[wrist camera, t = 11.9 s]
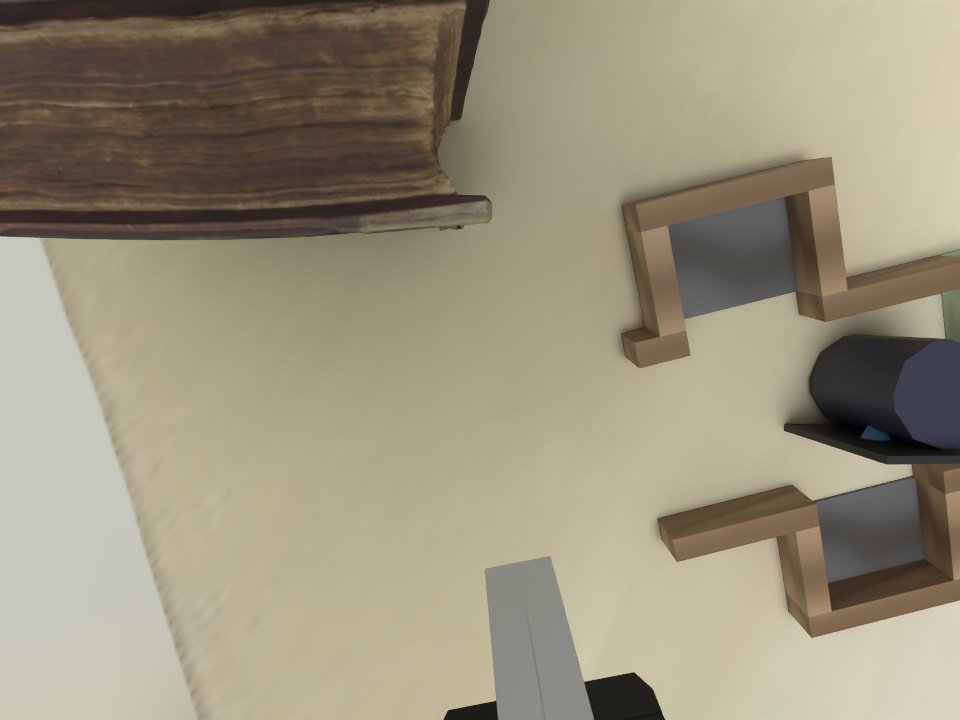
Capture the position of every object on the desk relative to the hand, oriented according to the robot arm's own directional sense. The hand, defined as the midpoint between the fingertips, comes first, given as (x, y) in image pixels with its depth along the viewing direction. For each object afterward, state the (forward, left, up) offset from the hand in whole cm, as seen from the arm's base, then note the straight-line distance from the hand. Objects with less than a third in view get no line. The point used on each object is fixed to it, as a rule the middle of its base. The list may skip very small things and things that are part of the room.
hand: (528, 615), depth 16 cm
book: (-13, -6, -28) cm, 31 cm away
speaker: (+7, +22, -28) cm, 36 cm away
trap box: (+8, +19, -28) cm, 35 cm away
